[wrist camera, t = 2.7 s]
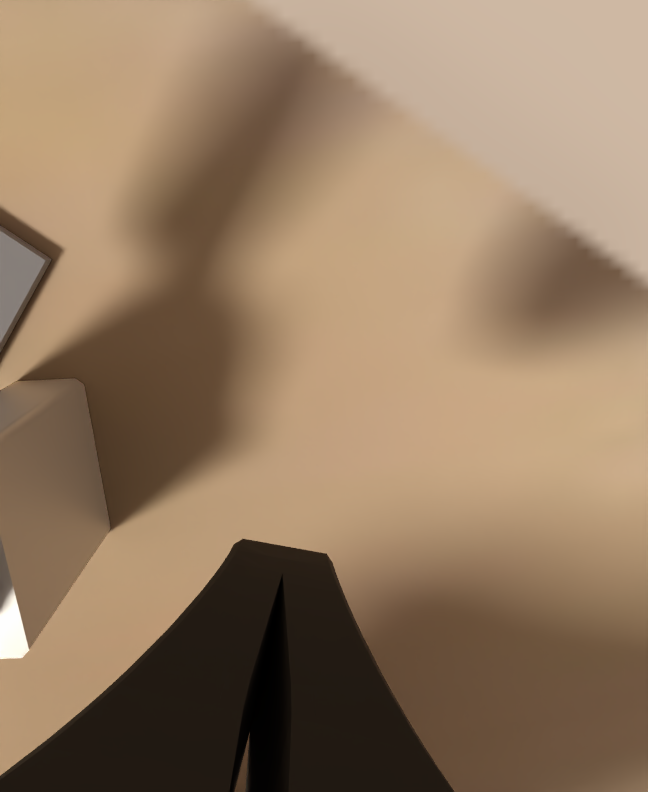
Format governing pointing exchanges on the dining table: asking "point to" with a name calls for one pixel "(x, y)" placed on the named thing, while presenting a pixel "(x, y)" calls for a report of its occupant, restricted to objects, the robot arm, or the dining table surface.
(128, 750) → the robot arm
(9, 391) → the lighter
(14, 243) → the mat
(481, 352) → the dining table surface
